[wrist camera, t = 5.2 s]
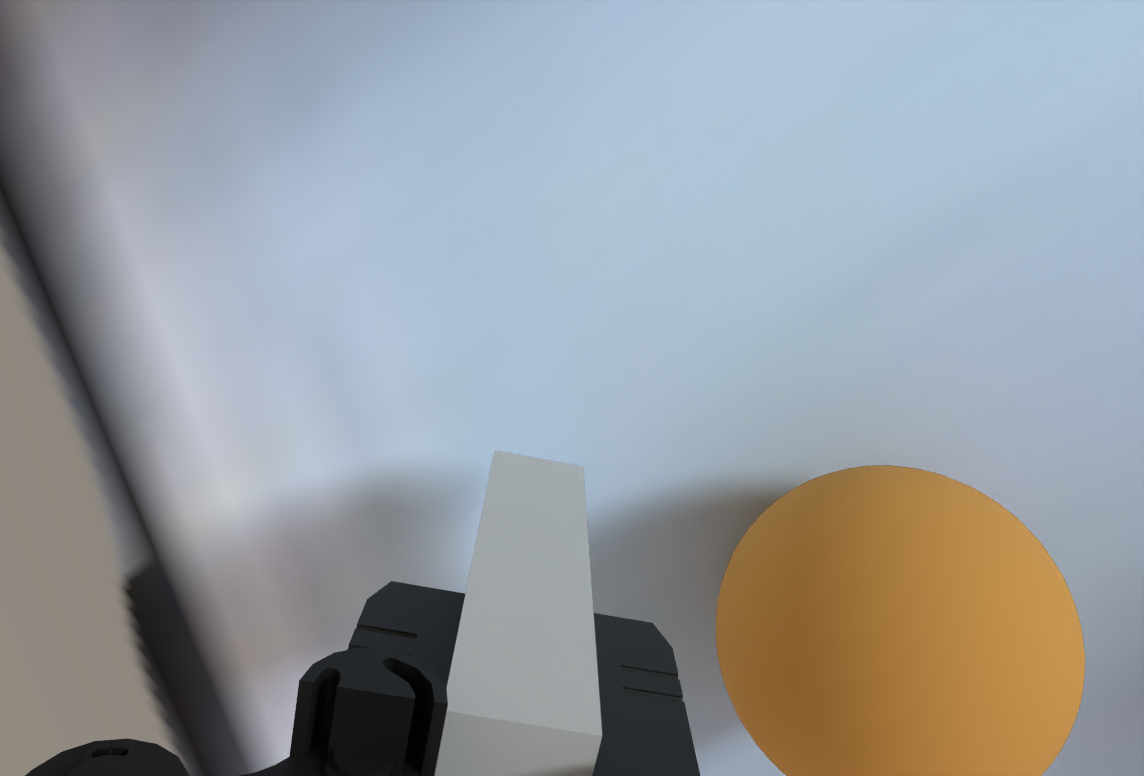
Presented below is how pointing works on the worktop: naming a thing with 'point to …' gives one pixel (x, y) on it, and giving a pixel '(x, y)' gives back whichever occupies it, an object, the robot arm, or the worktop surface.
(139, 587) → the worktop surface
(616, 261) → the worktop surface
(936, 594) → the ball
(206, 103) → the worktop surface
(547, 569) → the robot arm
